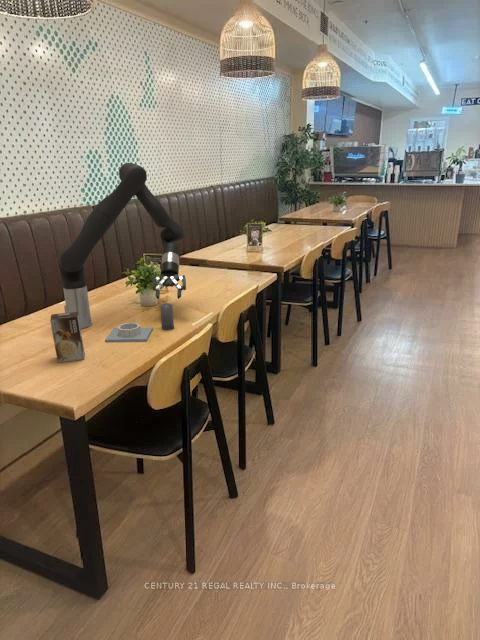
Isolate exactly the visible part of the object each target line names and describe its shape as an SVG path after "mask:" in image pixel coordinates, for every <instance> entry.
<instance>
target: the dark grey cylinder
mask: <svg viewBox="0 0 480 640" xmlns="http://www.w3.org/2000/svg"><path fill="white" fill-rule="evenodd" d="M159 311H160V312H159V313H160V322H161V323H160V324H161V330H162V331H171V330H174V329H175V323H174V311H173V303H168V302H167V303H166V302H165V303H162V304H160V305H159Z"/></svg>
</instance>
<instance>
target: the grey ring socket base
mask: <svg viewBox="0 0 480 640" xmlns="http://www.w3.org/2000/svg"><path fill="white" fill-rule="evenodd" d="M153 330H154V328H153V327H151V326H149V327H141V325H140V324H139V323H137V322H127V323H122V324H119V325H118V326H117V327H114V328H113V329H112V330H111V331H110V332H109V334H108V335H107V336H106V338H105V339H104V342H105V343H131V342H133V343H136V342H137V343H138V342H140V343H142V342H143V343H144V342H148V340H149V339H150V336H151V334H152V332H153Z"/></svg>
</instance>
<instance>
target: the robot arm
mask: <svg viewBox="0 0 480 640" xmlns="http://www.w3.org/2000/svg"><path fill="white" fill-rule="evenodd" d="M118 177H119V179H120V182H119V184H118V185H117V186H116V187H115V189H114V190H113V191H112V192H111V193H109V194H108V195H107V196H106V197H104V198H103V199H101V200H100V201H99V202H98V203H97V204H96V205H95V207H94V208H93V209H92V210H91V212H90V214H89V215H88V217H87V218H86V219H85V222H84V224H83V226H82V227H81V231H80V232H79V234H78V236H76V239H75V240H74V241H73V242H72V243H71V245H70V246H65V247H63V248H62V249H60V251H59V253H58V257H57V259H58V266H59V271H60V279H61V284H62V288H63V295H64V302H65V305H64V306H63V308H64V313H71V312H78V315H79V321H80V328H81V330H82V329H85V328H86V329H87V328H88V327H92V323H93V322H92V317H91V316H92V315H91V309H90V301H89V300H90V299H89V292H88V286H87V280H86V275H85V270H84V264H85V263H86V261H87V259H88V257H89V256H90V254H91V253H92V251H93V249H94V248H95V247H96V245H98V243H99V242H100V241H101V240H102V238H104V237H105V234H106V233H107V232H108V231H109V230H110V228H111V227H112V226H113V224H114V223H115V221H116V220H117V219H118V217H119V216H120V214H121V213H122V212H123V211H124V210H125V208H126V206H127V205H128V203H130V201H131V199H133V198H134V197H136V199H137V200H138V201H139V202H140V203H141V205H142V207H143V209H145V211H146V212H147V214H148V215H149V217H150V218H151V219H152V221H153V223H154V224H155V225H156V227H158V228H160V229H161V228H163V229H162V230H161V231H160V233H159V236H160V240H161V245H162V257H161V265H160V266H161V267H160V275H159V276H156V275H153V276H152V280H151V281H152V282H151V289H152V291H153V292H154V291H155V298H156V299H157V300H160V298H161V296H160V295H161V292H160V291H161V290H162V289H164V287H165V288H169V287H174V288H175V289H177V293H176V294H177V295H176V298H177V299H179V300H180V298H181V297H182V291H185V290H187V278H186V275H182V276H179V271H180V270H179V269H180V258H179V257H180V247H179V245H178V243H175V242H179V241H181V240H183V239H184V236H185V232H184V228H183V227H182V226H181V225H180V223H178V222H177V221H176V220H175V219H174V218H172V217H171V216H170V214H169V213H168V212H167V210H166V209H165V207H164V206H163V205H162V203H161V202H160V200H158V198H157V197H156V196H155V195H154V194H153V193H152V192H151V190H149V188H148V186H147V185H146V183H147V180H148V179H147V177H148V176H147V171H146V169H145V168H144V167H143V166H141V165H139V164H136V163H133V162H125V163H124V164H122V165H121V166H120V168H119V171H118ZM179 281H180V282H182V283H181V285H180V284H179ZM158 282H159V283H158ZM157 283H158V285H157Z"/></svg>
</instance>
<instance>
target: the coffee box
mask: <svg viewBox="0 0 480 640" xmlns="http://www.w3.org/2000/svg"><path fill="white" fill-rule="evenodd" d="M49 322H50V327H51V332H52V338H53V343H54V345H53V346H54V349H55V356H56V360H57V364H59V363H67V362H74V361H83V360H85V358H86V357H85V356H86V353H85V348H84V343H83V342H84V341H83V340H84V339H83V335H82V329H81V328H80V321H79V315H78V312H71V313H65V312H63V313H54V314H53V313H52V314H51V315H50V319H49Z"/></svg>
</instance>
